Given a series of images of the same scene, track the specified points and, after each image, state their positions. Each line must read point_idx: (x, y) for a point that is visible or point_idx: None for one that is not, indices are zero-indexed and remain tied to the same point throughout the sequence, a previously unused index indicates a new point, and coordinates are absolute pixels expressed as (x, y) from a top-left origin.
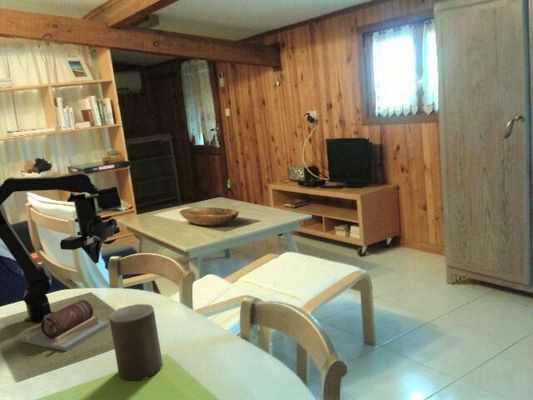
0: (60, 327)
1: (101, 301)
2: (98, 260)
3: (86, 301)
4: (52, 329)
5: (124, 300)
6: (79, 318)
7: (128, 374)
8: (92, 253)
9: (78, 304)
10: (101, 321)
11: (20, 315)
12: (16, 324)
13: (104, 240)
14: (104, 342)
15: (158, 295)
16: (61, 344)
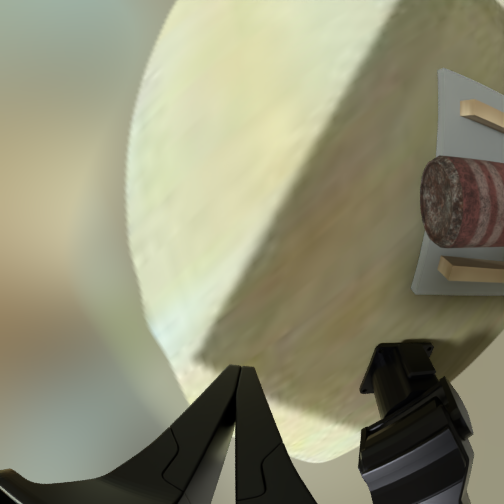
0: None
1: (256, 263)
2: (225, 373)
3: (463, 187)
4: None
5: (226, 160)
6: (498, 162)
7: None
8: (285, 458)
9: (498, 195)
10: (447, 98)
11: (373, 417)
12: None
13: (41, 497)
14: (498, 38)
15: (154, 51)
16: None
